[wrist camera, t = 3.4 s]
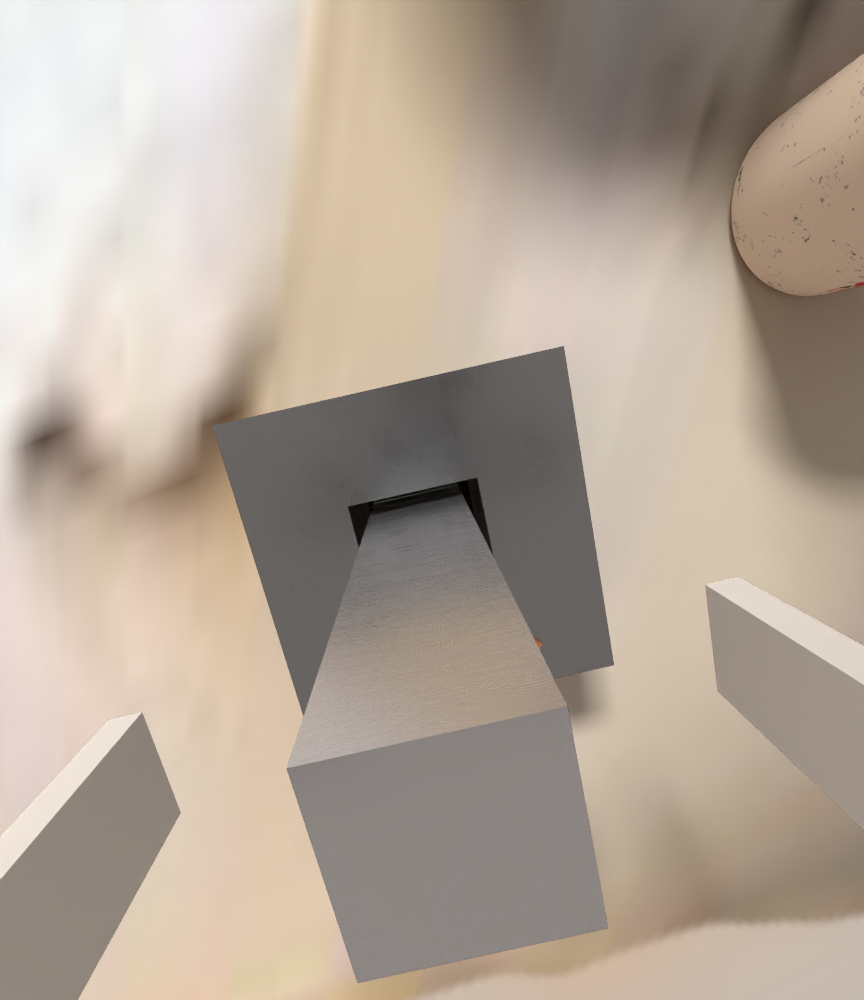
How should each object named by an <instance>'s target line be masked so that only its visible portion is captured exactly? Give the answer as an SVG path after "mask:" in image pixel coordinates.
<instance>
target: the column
mask: <svg viewBox="0 0 864 1000" xmlns="http://www.w3.org/2000/svg"><path fill="white" fill-rule="evenodd" d="M287 771H288V774H289V777H290V780H291V783H292V786H293V789H294V792H295V795H296V798H297V801H298V804H299V807H300V810H301V813H302V817H303V820H304V823H305V826H306V829H307V832H308V835H309V838H310V841H311V844H312V847H313V850H314V853H315V856H316V859H317V862H318V865H319V868H320V871H321V874H322V877H323V880H324V883H325V886H326V889H327V892H328V895H329V898H330V901H331V904H332V907H333V910H334V913H335V916H336V919H337V922H338V925H339V928H340V931H341V934H342V937H343V940H344V943H345V946H346V949H347V952H348V955H349V958H350V961H351V964H352V967H353V970H354V973H355V976H356V979H357V982H358V983H361V982H365V981H370V980H374V979H379V978H384V977H388V976H393V975H397V974H402V973H406V972H411V971H416V970H420V969H425V968H429V967H434V966H438V965H443V964H448V963H452V962H457V961H461V960H466V959H470V958H475V957H480V956H484V955H489V954H493V953H498V952H502V951H507V950H511V949H516V948H521V947H525V946H530V945H534V944H539V943H543V942H548V941H553V940H557V939H562V938H566V937H571V936H575V935H580V934H585V933H589V932H594V931H598V930H603V929H607V928H608V924H607V919H606V913H605V908H604V902H603V897H602V891H601V886H600V880H599V875H598V869H597V864H596V859H595V853H594V848H593V842H592V837H591V831H590V826H589V820H588V815H587V809H586V804H585V798H584V793H583V788H582V782H581V777H580V771H579V766H578V760H577V755H576V749H575V744H574V738H573V733H572V728H571V722H570V717H569V711H568V706H567V704H566V702H565V700H564V698H563V696H562V694H561V692H560V690H559V688H558V686H557V684H556V682H555V680H554V678H553V676H552V674H551V672H550V670H549V668H548V666H547V664H546V662H545V660H544V658H543V656H542V654H541V652H540V650H539V648H538V646H537V644H536V641H535V639H534V637H533V635H532V633H531V631H530V629H529V627H528V625H527V623H526V621H525V619H524V617H523V615H522V613H521V611H520V609H519V607H518V605H517V603H516V601H515V599H514V597H513V595H512V593H511V591H510V589H509V587H508V585H507V583H506V581H505V579H504V577H503V575H502V573H501V571H500V569H499V567H498V565H497V563H496V561H495V559H494V557H493V555H492V553H491V551H490V549H489V547H488V545H487V543H486V541H485V539H484V537H483V535H482V533H481V531H480V529H479V527H478V525H477V523H476V521H475V519H474V517H473V515H472V513H471V511H470V509H469V507H468V505H467V503H466V501H465V499H464V497H463V495H462V493H461V491H460V489H459V487H458V483H457V482H455V483H450V484H446V485H441V486H437V487H432V488H428V489H423V490H419V491H415V492H410V493H406V494H401V495H397V496H392V497H388V498H384V499H379V500H375V501H374V503H373V507H372V510H371V514H370V517H369V520H368V523H367V526H366V529H365V532H364V535H363V538H362V541H361V544H360V547H359V550H358V553H357V556H356V559H355V562H354V565H353V568H352V571H351V574H350V577H349V580H348V583H347V586H346V589H345V592H344V595H343V598H342V602H341V605H340V608H339V611H338V614H337V617H336V620H335V623H334V626H333V629H332V632H331V635H330V638H329V641H328V644H327V647H326V650H325V653H324V656H323V659H322V662H321V665H320V668H319V671H318V674H317V677H316V680H315V683H314V686H313V690H312V693H311V696H310V699H309V702H308V705H307V708H306V711H305V714H304V717H303V720H302V723H301V726H300V729H299V732H298V735H297V738H296V741H295V744H294V747H293V750H292V753H291V756H290V759H289V762H288V765H287Z"/></svg>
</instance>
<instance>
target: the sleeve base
mask: <svg viewBox="0 0 864 1000" xmlns="http://www.w3.org/2000/svg"><path fill="white" fill-rule="evenodd" d="M212 427H213V430H214V433H215V436H216V439H217V443H218V446H219V449H220V452H221V455H222V459H223V462H224V465H225V468H226V471H227V474H228V478H229V481H230V484H231V487H232V490H233V494H234V497H235V500H236V503H237V506H238V509H239V513H240V516H241V519H242V522H243V525H244V529H245V532H246V535H247V538H248V541H249V544H250V548H251V551H252V554H253V557H254V560H255V563H256V567H257V570H258V573H259V576H260V579H261V583H262V586H263V589H264V592H265V595H266V598H267V602H268V605H269V608H270V611H271V614H272V618H273V621H274V624H275V627H276V630H277V633H278V637H279V640H280V643H281V646H282V649H283V653H284V656H285V659H286V662H287V665H288V668H289V672H290V675H291V678H292V681H293V684H294V687H295V691H296V694H297V697H298V700H299V703H300V707H301V710H302V713H303V716H304V714H305V711H306V708H307V705H308V702H309V699H310V696H311V693H312V690H313V686H314V683H315V680H316V677H317V674H318V671H319V668H320V665H321V662H322V659H323V656H324V653H325V650H326V647H327V644H328V641H329V638H330V635H331V632H332V629H333V626H334V623H335V620H336V617H337V614H338V611H339V608H340V605H341V602H342V598H343V595H344V592H345V589H346V586H347V583H348V580H349V577H350V574H351V571H352V568H353V565H354V562H355V559H356V556H357V553H358V550H359V547H360V544H361V541H362V538H363V535H364V532H365V529H366V526H367V523H368V520H369V517H370V511H369V507H368V503H367V502H370V501H375V500H379V499H384V498H388V497H392V496H397V495H401V494H406V493H410V492H415V491H419V490H423V489H428V488H432V487H437V486H441V485H446V484H450V483H455V482H459V481H463V480H467V482H468V487H469V492H470V496H471V501H472V506H473V511H474V515H475V520H476V523H477V525H478V527H479V529H480V531H481V533H482V535H483V537H484V539H485V541H486V543H487V545H488V547H489V549H490V551H491V553H492V555H493V557H494V559H495V561H496V563H497V565H498V567H499V569H500V571H501V573H502V575H503V577H504V579H505V581H506V583H507V585H508V587H509V589H510V591H511V593H512V595H513V597H514V599H515V601H516V603H517V605H518V607H519V609H520V611H521V613H522V615H523V617H524V619H525V621H526V623H527V625H528V627H529V629H530V631H531V633H532V635H533V637H534V639H535V641H536V644H537V646H538V648H539V650H540V652H541V654H542V656H543V658H544V660H545V662H546V664H547V666H548V668H549V670H550V672H551V674H552V676H553V678H558V677H562V676H567V675H571V674H576V673H580V672H585V671H589V670H594V669H598V668H603V667H607V666H612V665H614V662H613V656H612V650H611V643H610V637H609V630H608V624H607V618H606V611H605V605H604V599H603V592H602V586H601V580H600V573H599V567H598V561H597V554H596V548H595V541H594V535H593V529H592V522H591V516H590V510H589V503H588V497H587V491H586V484H585V478H584V472H583V465H582V459H581V452H580V446H579V440H578V433H577V427H576V421H575V414H574V408H573V402H572V395H571V389H570V383H569V376H568V370H567V363H566V357H565V351H564V346H562V347H558V348H553V349H549V350H545V351H540V352H536V353H531V354H527V355H523V356H518V357H514V358H509V359H505V360H500V361H496V362H492V363H487V364H483V365H478V366H474V367H470V368H465V369H461V370H456V371H452V372H448V373H443V374H439V375H434V376H430V377H426V378H421V379H417V380H412V381H408V382H404V383H399V384H395V385H390V386H386V387H382V388H377V389H373V390H368V391H364V392H360V393H355V394H351V395H346V396H342V397H337V398H333V399H329V400H324V401H320V402H315V403H311V404H307V405H302V406H298V407H293V408H289V409H285V410H280V411H276V412H271V413H267V414H263V415H258V416H254V417H249V418H245V419H241V420H236V421H232V422H227V423H223V424H219V425H214V426H212Z"/></svg>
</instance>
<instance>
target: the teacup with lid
mask: <svg viewBox="0 0 864 1000" xmlns="http://www.w3.org/2000/svg"><path fill="white" fill-rule="evenodd" d="M731 223H732V230H733V235H734V239H735V242H736V245H737V248H738V250H739V252H740V255H741V257H742V258H743V260H744V262H745V263H746V265H747V266H748V267H749V269H750V270H751V271H752V272H753V273H754V274H755V275H756V276H757V277H758V278H759V279H760V280H761V281H762V282H764V283H765V284H767V285H768V286H770V287H772V288H774V289H776V290H779V291H781V292H784V293H788V294H792V295H798V296H815V295H823V294H828V293H832V292H837V291H841V290H845V289H849V288H854V287H858V286H862V285H864V53H863V54H862V55H861V56H859V57H858V58H857V59H855V60H854V61H853V62H851V63H850V64H849V65H847V66H846V67H845V68H843V69H842V70H841V71H839V72H838V73H836V74H835V75H834V76H832V77H831V78H830V79H828V80H827V81H826V82H824V83H823V84H822V85H820V86H819V87H818V88H816V89H815V90H814V91H812V92H811V93H810V94H808V95H807V96H806V97H804V98H803V99H802V100H800V101H799V102H798V103H796V104H795V105H794V106H792V107H791V108H790V109H788V110H787V111H786V112H784V113H783V114H782V115H780V116H779V117H778V118H777V119H775V120H774V121H773V122H772V123H771V124H770V125H769V126H768V127H767V128H766V129H765V130H764V131H763V132H762V133H761V134H760V136H759V137H758V138H757V139H756V141H755V142H754V144H753V145H752V146H751V148H750V150H749V151H748V153H747V155H746V157H745V159H744V161H743V163H742V165H741V167H740V170H739V172H738V175H737V178H736V182H735V185H734V190H733V195H732V203H731Z"/></svg>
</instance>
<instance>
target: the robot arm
mask: <svg viewBox="0 0 864 1000" xmlns="http://www.w3.org/2000/svg"><path fill="white" fill-rule="evenodd" d="M705 587H706V595H707V604H708V613H709V621H710V630H711V639H712V647H713V656H714V665H715V674H716V682H717V691H718V692H719V693H720V694H721V695H722V696H723V697H724V698H725V699H726V700H727V701H728V702H730V703H731V704H732V705H733V706H734V707H735V708H736V709H737V710H738V711H739V712H740V713H741V714H742V715H743V716H744V717H745V718H746V719H747V720H748V721H749V722H751V723H752V724H753V725H754V726H755V727H756V728H757V729H758V730H759V731H760V732H761V733H762V734H763V735H764V736H765V737H766V738H767V739H768V740H769V741H770V742H772V743H773V744H774V745H775V746H776V747H777V748H778V749H779V750H780V751H781V752H782V753H783V754H784V755H785V756H786V757H787V758H788V759H789V760H790V761H791V762H793V763H794V764H795V765H796V766H797V767H798V768H799V769H800V770H801V771H802V772H803V773H804V774H805V775H806V776H807V777H808V778H809V779H810V780H811V781H812V782H814V783H815V784H816V785H817V786H818V787H819V788H820V789H821V790H822V791H823V792H824V793H825V794H826V795H827V796H828V797H829V798H830V799H831V800H832V801H833V802H834V803H836V804H837V805H838V806H839V807H840V808H841V809H842V810H843V811H844V812H845V813H846V814H847V815H848V816H849V817H850V818H851V819H852V820H853V821H854V822H855V823H857V824H858V825H859V826H860V827H861V828H862V829H863V830H864V646H863V645H861V644H859V643H858V642H856V641H854V640H852V639H850V638H849V637H847V636H845V635H843V634H841V633H839V632H838V631H836V630H834V629H832V628H830V627H828V626H827V625H825V624H823V623H821V622H819V621H817V620H816V619H814V618H812V617H810V616H808V615H806V614H805V613H803V612H801V611H799V610H797V609H796V608H794V607H792V606H790V605H788V604H786V603H785V602H783V601H781V600H779V599H777V598H775V597H774V596H772V595H770V594H768V593H766V592H764V591H763V590H761V589H759V588H757V587H755V586H753V585H752V584H750V583H748V582H746V581H744V580H742V579H741V578H739V577H736V578H732V579H728V580H723V581H719V582H714V583H710V584H706V585H705ZM180 813H181V812H180V810H179V807H178V804H177V802H176V799H175V797H174V794H173V791H172V789H171V786H170V784H169V781H168V778H167V776H166V773H165V771H164V768H163V765H162V763H161V760H160V757H159V755H158V752H157V750H156V747H155V744H154V742H153V739H152V737H151V734H150V731H149V729H148V726H147V724H146V721H145V718H144V716H143V713H142V712H140V713H136V714H132V715H127V716H123V717H118V718H114V719H110V720H108V721H107V723H106V724H105V725H104V726H103V727H102V728H101V729H100V730H99V731H98V732H97V733H96V734H95V735H94V737H93V738H92V739H91V740H90V741H89V742H88V743H87V744H86V745H85V746H84V747H83V748H82V749H81V750H80V752H79V753H78V754H77V755H76V756H75V757H74V758H73V759H72V760H71V761H70V762H69V763H68V764H67V766H66V767H65V768H64V769H63V770H62V771H61V772H60V773H59V774H58V775H57V776H56V777H55V778H54V780H53V781H52V782H51V783H50V784H49V785H48V786H47V787H46V788H45V789H44V790H43V791H42V792H41V794H40V795H39V796H38V797H37V798H36V799H35V800H34V801H33V802H32V803H31V804H30V805H29V806H28V808H27V809H26V810H25V811H24V812H23V813H22V814H21V815H20V816H19V817H18V818H17V819H16V820H15V822H14V823H13V824H12V825H11V826H10V827H9V828H8V829H7V830H6V831H5V832H4V833H3V834H2V835H1V837H0V1000H78V998H79V997H80V995H81V993H82V991H83V989H84V988H85V986H86V984H87V982H88V980H89V978H90V977H91V975H92V973H93V971H94V969H95V968H96V966H97V964H98V962H99V960H100V958H101V957H102V955H103V953H104V951H105V949H106V948H107V946H108V944H109V942H110V940H111V938H112V937H113V935H114V933H115V931H116V929H117V928H118V926H119V924H120V922H121V920H122V918H123V917H124V915H125V913H126V911H127V909H128V907H129V906H130V904H131V902H132V900H133V898H134V897H135V895H136V893H137V891H138V889H139V887H140V886H141V884H142V882H143V880H144V878H145V877H146V875H147V873H148V871H149V869H150V867H151V866H152V864H153V862H154V860H155V858H156V857H157V855H158V853H159V851H160V849H161V847H162V846H163V844H164V842H165V840H166V838H167V837H168V835H169V833H170V831H171V829H172V827H173V826H174V824H175V822H176V820H177V818H178V817H179V815H180Z"/></svg>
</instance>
